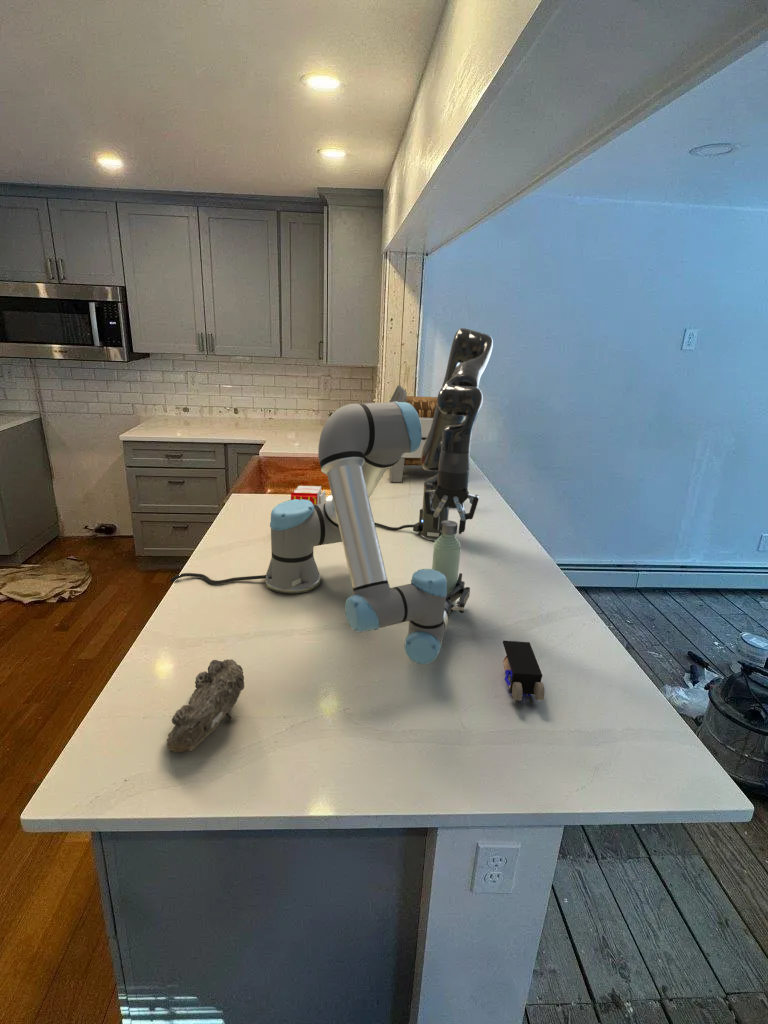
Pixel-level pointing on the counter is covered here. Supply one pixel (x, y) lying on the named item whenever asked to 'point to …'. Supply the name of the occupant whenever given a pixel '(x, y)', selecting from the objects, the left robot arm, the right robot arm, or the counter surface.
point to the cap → (448, 527)
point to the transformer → (426, 414)
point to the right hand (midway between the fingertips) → (448, 531)
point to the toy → (309, 494)
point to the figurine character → (522, 671)
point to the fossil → (206, 705)
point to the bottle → (447, 559)
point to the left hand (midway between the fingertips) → (446, 575)
